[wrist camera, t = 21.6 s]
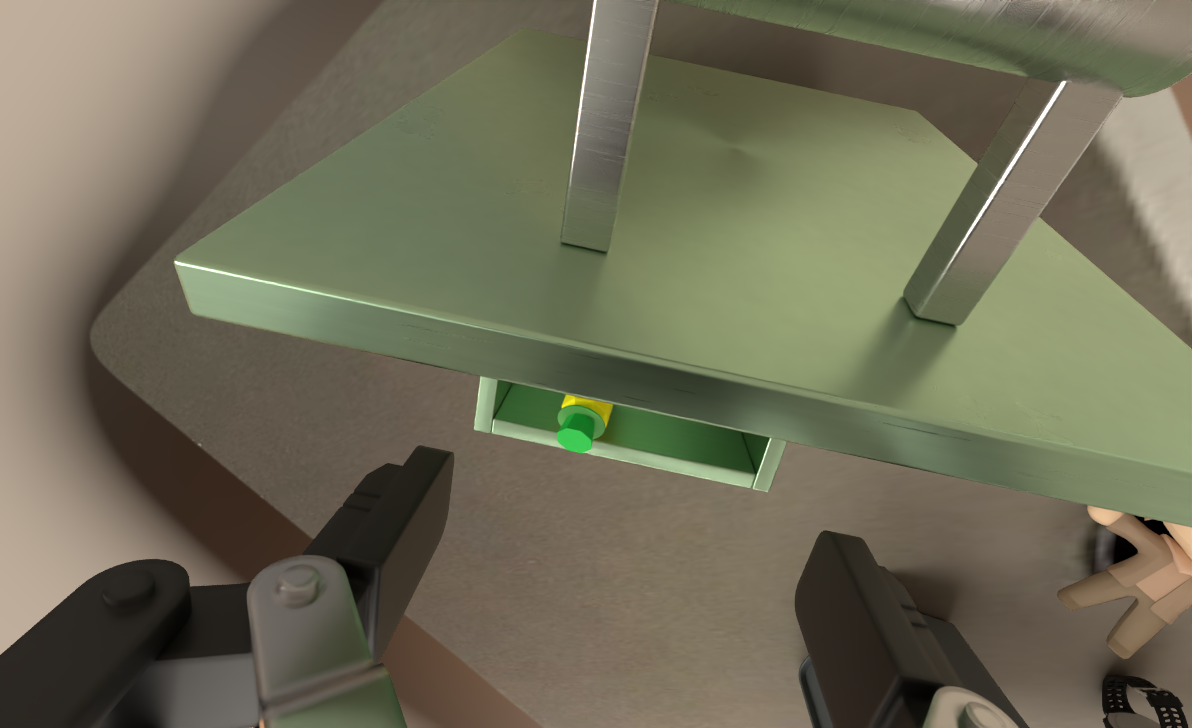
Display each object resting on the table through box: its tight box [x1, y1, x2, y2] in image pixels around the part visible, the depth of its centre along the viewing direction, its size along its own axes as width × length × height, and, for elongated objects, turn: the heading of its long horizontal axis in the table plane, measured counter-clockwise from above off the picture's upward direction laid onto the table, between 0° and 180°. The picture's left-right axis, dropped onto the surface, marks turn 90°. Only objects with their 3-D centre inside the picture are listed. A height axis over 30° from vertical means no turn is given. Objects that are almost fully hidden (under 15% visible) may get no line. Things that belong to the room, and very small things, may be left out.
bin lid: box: [174, 0, 1192, 527], centre depth 11 cm, size 17×14×6 cm
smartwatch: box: [1102, 676, 1188, 728], centre depth 39 cm, size 4×5×5 cm
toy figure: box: [557, 394, 613, 453], centre depth 28 cm, size 7×4×12 cm, turn 154°
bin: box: [474, 376, 788, 492], centre depth 28 cm, size 16×14×11 cm
